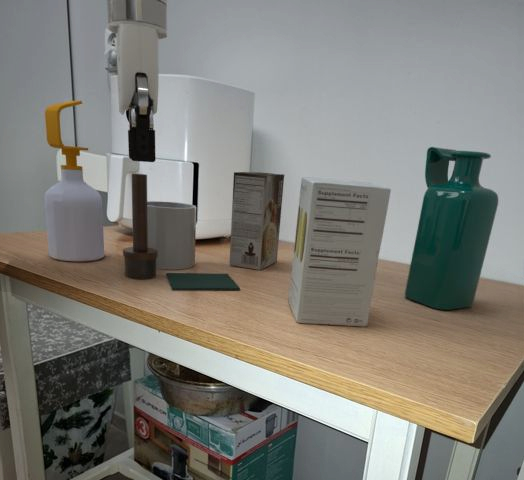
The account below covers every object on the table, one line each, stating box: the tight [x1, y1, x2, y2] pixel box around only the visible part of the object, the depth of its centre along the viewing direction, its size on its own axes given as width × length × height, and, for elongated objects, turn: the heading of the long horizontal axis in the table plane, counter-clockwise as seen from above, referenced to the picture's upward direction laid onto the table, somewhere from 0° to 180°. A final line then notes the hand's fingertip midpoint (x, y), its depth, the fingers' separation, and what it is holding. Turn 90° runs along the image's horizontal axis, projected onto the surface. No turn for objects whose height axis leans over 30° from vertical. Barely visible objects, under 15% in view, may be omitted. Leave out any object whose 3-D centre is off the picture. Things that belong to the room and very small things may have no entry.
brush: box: [122, 173, 158, 280], centre depth 73 cm, size 5×5×15 cm
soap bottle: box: [43, 100, 105, 263], centre depth 80 cm, size 9×9×25 cm
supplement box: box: [288, 176, 392, 328], centre depth 62 cm, size 10×9×17 cm
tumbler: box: [147, 200, 197, 271], centre depth 84 cm, size 9×9×10 cm
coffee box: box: [228, 171, 285, 271], centre depth 88 cm, size 9×6×16 cm
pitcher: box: [404, 146, 499, 311], centre depth 72 cm, size 10×8×22 cm
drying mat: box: [166, 272, 241, 291], centre depth 75 cm, size 10×9×1 cm
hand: (141, 160), depth 70 cm, fingers open, 9 cm apart
